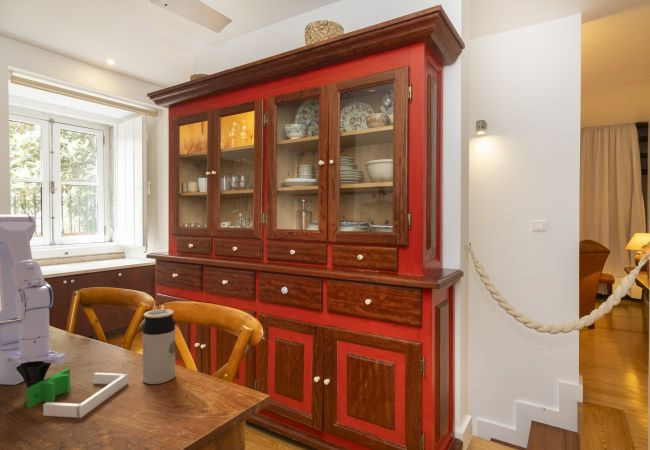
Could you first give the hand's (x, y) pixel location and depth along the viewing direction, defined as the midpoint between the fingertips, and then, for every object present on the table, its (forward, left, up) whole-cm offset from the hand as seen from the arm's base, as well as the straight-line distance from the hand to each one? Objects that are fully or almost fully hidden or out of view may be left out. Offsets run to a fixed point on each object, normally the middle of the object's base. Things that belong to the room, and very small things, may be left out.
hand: (35, 391), depth 90 cm
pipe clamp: (+5, 0, -1) cm, 5 cm away
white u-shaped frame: (+14, 0, -1) cm, 14 cm away
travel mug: (+25, +12, -1) cm, 28 cm away
